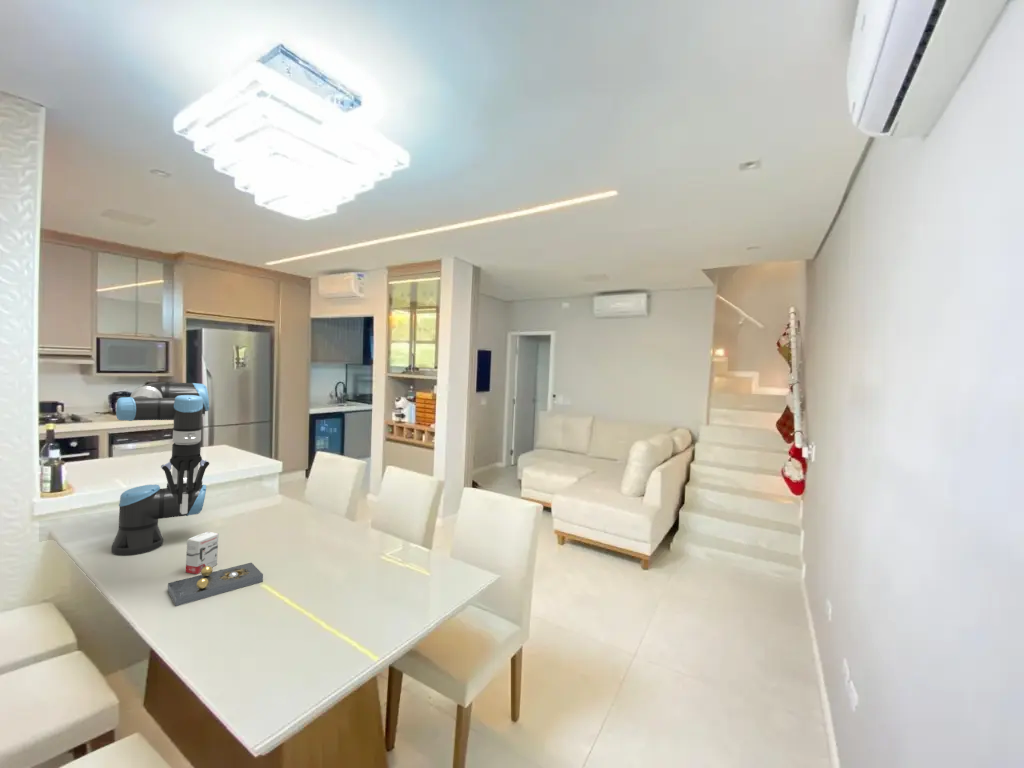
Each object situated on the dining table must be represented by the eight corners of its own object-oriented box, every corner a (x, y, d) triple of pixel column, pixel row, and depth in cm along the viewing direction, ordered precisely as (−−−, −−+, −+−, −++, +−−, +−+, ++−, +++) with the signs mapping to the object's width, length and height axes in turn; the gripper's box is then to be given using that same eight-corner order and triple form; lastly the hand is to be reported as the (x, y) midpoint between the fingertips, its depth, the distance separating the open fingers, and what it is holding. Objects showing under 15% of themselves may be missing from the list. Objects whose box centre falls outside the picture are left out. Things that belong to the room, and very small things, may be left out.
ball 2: (195, 588, 138) (195, 578, 138) (207, 584, 140) (207, 575, 140) (197, 592, 136) (198, 581, 136) (209, 588, 138) (210, 578, 138)
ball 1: (199, 575, 146) (200, 566, 146) (210, 572, 148) (211, 563, 148) (202, 578, 144) (202, 569, 144) (213, 576, 146) (213, 566, 146)
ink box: (196, 575, 151) (198, 541, 151) (184, 572, 152) (186, 539, 152) (217, 564, 159) (219, 532, 159) (206, 562, 160) (208, 530, 160)
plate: (175, 606, 132) (176, 598, 132) (167, 590, 140) (168, 583, 140) (262, 581, 149) (263, 574, 149) (251, 569, 157) (251, 562, 157)
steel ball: (224, 577, 148) (232, 569, 150) (232, 582, 149) (239, 574, 151) (226, 579, 145) (234, 570, 147) (234, 584, 147) (242, 575, 149)
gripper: (164, 446, 136) (161, 520, 137) (213, 442, 146) (210, 512, 147) (159, 442, 141) (156, 513, 142) (207, 438, 150) (203, 505, 152)
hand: (183, 512), depth 144 cm, fingers closed
